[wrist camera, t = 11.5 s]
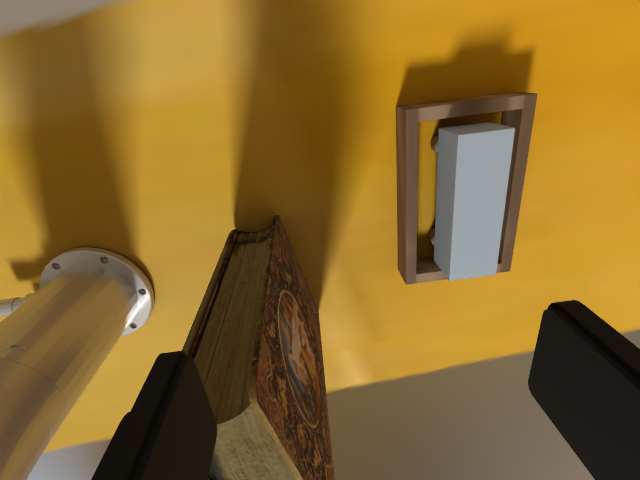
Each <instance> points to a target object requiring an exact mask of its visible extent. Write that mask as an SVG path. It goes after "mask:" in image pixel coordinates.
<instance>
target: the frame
mask: <svg viewBox="0 0 640 480" xmlns="http://www.w3.org/2000/svg"><path fill="white" fill-rule="evenodd" d="M536 99H537V94H536V93H523V92H511V93H503V94H495V95H487V96H479V97H471V98H463V99H455V100H447V101H439V102H431V103H422V104H414V105H406V106H398V107H396V146H397V227H398V270H399V272H400V274H401V276H402V278H403V280H404V282H405V284H413V283H421V282H429V281H437V280H445V279H448V278H447V277H446V276H445V274H444V273H443V272H442V270H441V269H440V268H439V266H438V265H437V264H436V262H435V261H434V257H426V258H419V259H416V254H417V186H418V122H420V121H429V120H437V119H445V118H453V117H461V116H469V115H477V114H485V113H493V112H501V111H502V117H501V125H504V126H509V127H513V128H515V133H514V141H513V149H512V156H511V164H510V172H509V179H508V187H507V194H506V202H505V210H504V217H503V225H502V233H501V240H500V248H499V256H498V263H497V271H496V273H499V272H507V271H510V268H511V262H512V255H513V249H514V242H515V236H516V229H517V223H518V216H519V210H520V203H521V197H522V190H523V184H524V177H525V171H526V164H527V158H528V151H529V145H530V138H531V132H532V125H533V119H534V112H535V106H536ZM438 137H439V135H436V136H434V137H433V139H432V140H431V148H432V149H433V150H434V151H436V152H438ZM428 239H429V240H430V241H431V243H432V244H433V245H434V244H435V228H434V229H432V230H431V231H430V232H429V233H428Z"/></svg>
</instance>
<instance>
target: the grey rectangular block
mask: <svg viewBox="0 0 640 480" xmlns="http://www.w3.org/2000/svg"><path fill="white" fill-rule="evenodd" d="M514 133H515V128H513V127H509V126H504V125H500V124H496V123H492V122H483V123H475V124H468V125H460V126H452V127H444V128H439V137H438V164H437V191H436V218H435V244H434V261H435V262H436V264H437V265H438V266H439V268H440V269H441V270H442V272H443V273H444V274H445V276H446V277H447V278H448V280H449V281H452V280H460V279H467V278H475V277H483V276H490V275H496V271H497V263H498V256H499V248H500V240H501V233H502V225H503V217H504V210H505V202H506V194H507V187H508V179H509V172H510V164H511V156H512V149H513V141H514Z"/></svg>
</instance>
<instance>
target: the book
mask: <svg viewBox="0 0 640 480" xmlns="http://www.w3.org/2000/svg"><path fill="white" fill-rule="evenodd" d="M182 351H184V352H185V353H186V355H187V356H192V357H193V359H194V361H195V364H196V367H197V370H198V372H199V375H200V378H201V381H202V383H203V386H204V389H205V392H206V395H207V397H208V400H209V403H210V406H211V409H212V411H213V414H214V417H215V420H216V423H217V438H216V443H215V448H214V452H213V457H212V462H211V466H210V471H209V476H208V480H334V471H333V460H332V450H331V439H330V429H329V418H328V408H327V397H326V387H325V376H324V366H323V355H322V345H321V334H320V323H319V313H318V310H317V307H316V305H315V302H314V300H313V297H312V295H311V293H310V290H309V288H308V285H307V283H306V280H305V278H304V275H303V273H302V271H301V268H300V266H299V263H298V261H297V258H296V256H295V253H294V251H293V248H292V246H291V244H290V241H289V239H288V236H287V234H286V232H285V229H284V227H283V224H282V222H281V220H280V217H279V216H278V215H277V216H274V218H273V223H272V225H271V226H270V227H268V228H267V229H265V230H262V231H259V232H240V231H238V230H237V229H235V230H232V231H231V232H230V234H229V236H228V239H227V241H226V243H225V246H224V248H223V251H222V253H221V256H220V258H219V261H218V263H217V266H216V268H215V271H214V273H213V275H212V278H211V280H210V283H209V285H208V288H207V290H206V293H205V295H204V298H203V300H202V303H201V305H200V307H199V310H198V312H197V315H196V317H195V320H194V322H193V325H192V327H191V330H190V332H189V335H188V337H187V339H186V342H185V344H184V347H183V349H182Z"/></svg>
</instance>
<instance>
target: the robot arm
mask: <svg viewBox="0 0 640 480" xmlns="http://www.w3.org/2000/svg"><path fill="white" fill-rule="evenodd" d="M39 284H40V288H39V289H38V290H37V291H36V292H34V293H29V294H27V295H26V296H25V297H23V298H20V297H18V298H11V299H3V300H0V316H7V317H6V318H5V319H4V320H3V321H1V322H0V480H26V479H27V478H28V476H29V474H30V472H31V471H32V469H33V467H34V466H35V464H36V463H37V461H38V460H39V458H40V456H41V455H42V453H43V452H44V450H45V449H46V447H47V446H48V444H49V442H50V441H51V439H52V438H53V436H54V435H55V433H56V432H57V430H58V429H59V427H60V426H61V424H62V423H63V422H64V420H65V418H66V417H67V415H68V414H69V412H70V411H71V409H72V408H73V406H74V405H75V403H76V402H77V400H78V399H79V397H80V396H81V395H82V393H83V392H84V390H85V389H86V387H87V386H88V384H89V383H90V381H91V380H92V378H93V377H94V375H95V374H96V372H97V371H98V369H99V368H100V366H101V365H102V363H103V362H104V360H105V359H106V357H107V356H108V354H109V353H110V351H111V350H112V348H113V347H114V345H115V344H116V342H117V341H118V339H119V338H120V337H121V336H126V335H128V334H131V333H133V332H135V331H136V330H138V329H139V328H141V327H142V326H143V325H144V324H145V323H146V321H147V320H148V318H149V316H150V315H151V312H152V310H153V307H154V292H153V289H152V286H151V284H150V282H149V280H148V279H147V277H146V276H145V274H144V273H143V272H142V271H141V270H140V269H139V268H138V267H137V266H136V265H135V264H133V263H132V262H131V261H129V260H128V259H126V258H124V257H123V256H121V255H118V254H116V253H114V252H111V251H108V250H104V249H99V248H91V247H87V248H76V249H71V250H68V251H66V252H63V253H61V254H59V255H58V256H57V257H55V258H54V259H52V260H51V261H50V262H49V263H48V264H47V265H46V266H45V268H44V270H43V271H42V273H41V277H40V281H39ZM528 385H529V389H530V392H531V394H532V395H533V397H534V398H535V400H536V401H537V402H538V404H539V405H540V406H541V408H542V409H543V410H544V412H545V413H546V414H547V416H548V417H549V418H550V420H551V421H552V422H553V424H554V425H555V426H556V428H557V429H558V431H559V432H560V433H561V435H562V436H563V437H564V439H565V440H566V441H567V443H568V444H569V445H570V447H571V448H572V449H573V451H574V452H575V453H576V455H577V456H578V457H579V459H580V460H581V461H582V463H583V464H584V465H585V467H586V468H587V470H588V471H589V472H590V473H591V475H592V476H593V478H594V479H595V480H640V349H639V348H637V347H636V346H635V345H634V344H633V343H631V342H630V341H628V339H626V338H625V337H624V336H623V335H621V334H620V333H619V332H617V331H616V330H615V329H614V328H612V327H611V326H610V325H609V324H607V323H606V322H605V321H604V320H602V319H601V318H600V317H599V316H597V315H596V314H595V313H593V312H592V311H591V310H590V309H588V308H587V307H586V306H585V305H583V304H582V303H580V302H579V301H576V300H571V301H564V302H556V303H551V304H550V305H549V307H548V309H547V310H545V311H544V312H543V316H542V320H541V325H540V329H539V334H538V338H537V343H536V348H535V352H534V357H533V361H532V366H531V370H530V375H529V380H528ZM216 438H217V423H216V420H215V417H214V414H213V411H212V409H211V406H210V403H209V400H208V397H207V395H206V392H205V389H204V386H203V383H202V381H201V378H200V375H199V372H198V370H197V367H196V364H195V361H194V359H193V357H192V356H187V355H186V353H185V352H184V351H177V352H169V353H161V354H160V355H159V356H158V357H157V359H156V361H155V363H154V365H153V367H152V369H151V371H150V373H149V375H148V377H147V379H146V381H145V383H144V385H143V387H142V389H141V391H140V393H139V395H138V397H137V399H136V401H135V404H134V406H133V408H132V410H131V412H128V413H127V414H126V415H125V416H124V417H123V419H122V420H121V422H120V424H119V426H118V428H117V430H116V432H115V434H114V436H113V438H112V440H111V442H110V444H109V446H108V448H107V450H106V452H105V454H104V456H103V458H102V459H101V462H100V464H99V466H98V467H97V469H96V472H95V474H94V475H93V477H92V479H91V480H208V476H209V471H210V466H211V462H212V457H213V452H214V448H215V443H216Z"/></svg>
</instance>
